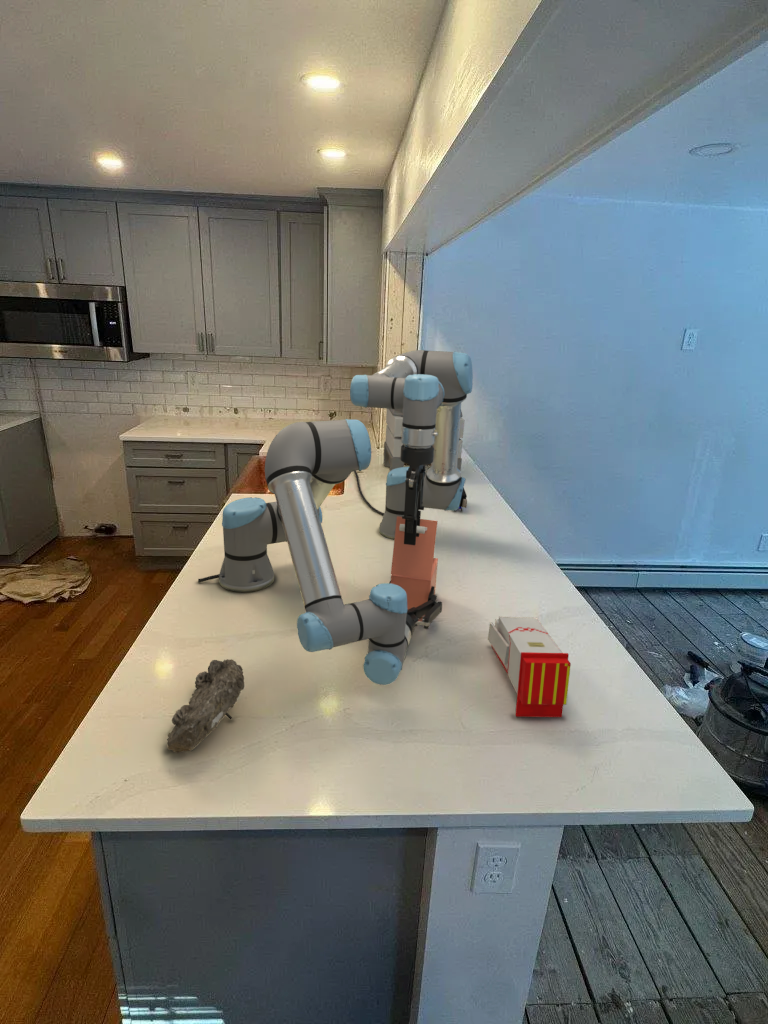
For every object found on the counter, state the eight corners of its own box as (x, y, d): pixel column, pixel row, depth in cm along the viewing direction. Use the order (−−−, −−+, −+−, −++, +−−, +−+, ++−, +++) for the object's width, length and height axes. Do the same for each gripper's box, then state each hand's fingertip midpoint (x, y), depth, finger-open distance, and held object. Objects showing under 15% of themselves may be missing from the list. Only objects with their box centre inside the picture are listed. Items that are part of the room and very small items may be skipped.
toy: (534, 602, 136) (579, 659, 107) (529, 653, 139) (572, 723, 110) (484, 601, 136) (516, 658, 107) (480, 652, 139) (510, 722, 109)
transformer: (382, 463, 289) (386, 382, 275) (445, 464, 293) (451, 384, 279) (390, 482, 257) (394, 392, 243) (460, 483, 261) (468, 394, 247)
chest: (399, 589, 160) (401, 553, 156) (435, 594, 158) (438, 558, 155) (388, 614, 147) (390, 575, 143) (427, 620, 145) (430, 580, 142)
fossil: (192, 660, 117) (244, 628, 112) (224, 691, 120) (276, 661, 115) (142, 746, 98) (202, 712, 93) (182, 779, 101) (242, 748, 96)
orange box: (397, 516, 143) (391, 517, 135) (437, 520, 141) (434, 522, 133) (391, 573, 144) (385, 578, 135) (431, 578, 142) (427, 583, 134)
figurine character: (467, 516, 223) (461, 500, 237) (469, 499, 220) (463, 483, 233) (450, 516, 223) (446, 499, 236) (452, 498, 220) (447, 483, 233)
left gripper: (345, 639, 130) (368, 595, 151) (444, 654, 126) (454, 607, 146) (346, 610, 128) (369, 569, 148) (447, 625, 123) (457, 581, 144)
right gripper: (428, 455, 119) (421, 556, 127) (439, 438, 136) (432, 528, 144) (393, 452, 121) (388, 552, 129) (408, 435, 137) (403, 525, 145)
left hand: (411, 588), depth 147 cm, fingers closed on chest, 10 cm apart
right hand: (411, 539), depth 136 cm, fingers open, 5 cm apart
